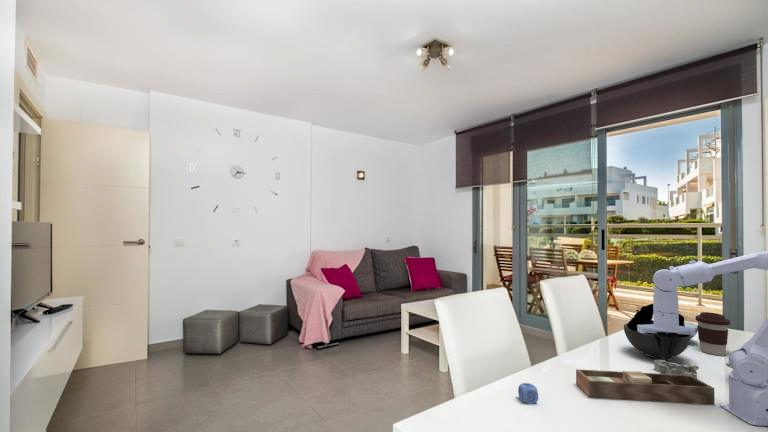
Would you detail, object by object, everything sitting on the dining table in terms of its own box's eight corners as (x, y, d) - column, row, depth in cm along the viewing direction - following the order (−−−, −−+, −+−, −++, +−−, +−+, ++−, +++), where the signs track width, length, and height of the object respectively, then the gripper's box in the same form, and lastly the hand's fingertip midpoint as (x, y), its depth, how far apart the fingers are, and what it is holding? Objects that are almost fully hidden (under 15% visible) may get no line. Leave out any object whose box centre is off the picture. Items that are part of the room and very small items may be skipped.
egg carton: (701, 379, 114) (701, 367, 114) (686, 383, 111) (686, 370, 111) (664, 367, 124) (664, 355, 124) (650, 370, 121) (650, 358, 121)
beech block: (651, 387, 100) (651, 378, 100) (633, 386, 101) (632, 377, 101) (640, 380, 105) (640, 371, 105) (622, 379, 106) (622, 370, 106)
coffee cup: (728, 359, 132) (727, 318, 132) (693, 351, 140) (693, 313, 140) (732, 353, 138) (731, 314, 139) (698, 346, 146) (698, 310, 146)
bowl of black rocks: (678, 371, 119) (678, 315, 120) (614, 353, 136) (613, 304, 137) (699, 360, 130) (698, 308, 131) (637, 344, 147) (636, 299, 148)
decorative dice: (532, 397, 100) (532, 382, 100) (538, 404, 96) (538, 389, 96) (518, 397, 100) (518, 382, 100) (523, 404, 96) (523, 389, 96)
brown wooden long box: (690, 390, 106) (690, 375, 106) (714, 404, 97) (714, 388, 97) (576, 384, 108) (576, 369, 109) (589, 397, 100) (589, 381, 100)
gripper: (682, 309, 106) (682, 355, 106) (630, 307, 107) (631, 352, 107) (701, 314, 99) (701, 364, 99) (645, 312, 100) (646, 361, 100)
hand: (666, 358), depth 102 cm, fingers closed
